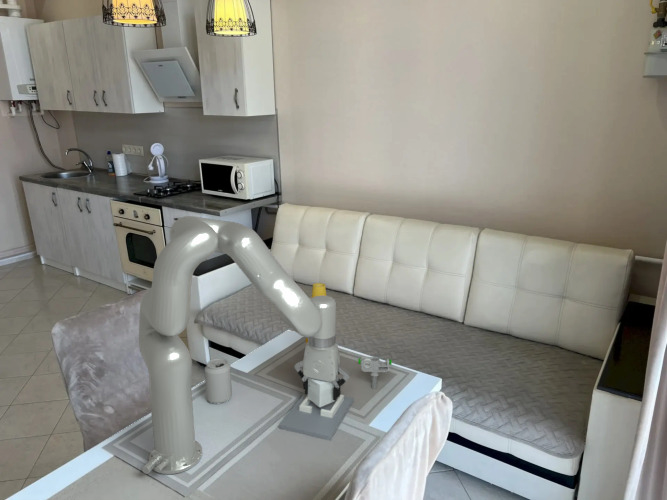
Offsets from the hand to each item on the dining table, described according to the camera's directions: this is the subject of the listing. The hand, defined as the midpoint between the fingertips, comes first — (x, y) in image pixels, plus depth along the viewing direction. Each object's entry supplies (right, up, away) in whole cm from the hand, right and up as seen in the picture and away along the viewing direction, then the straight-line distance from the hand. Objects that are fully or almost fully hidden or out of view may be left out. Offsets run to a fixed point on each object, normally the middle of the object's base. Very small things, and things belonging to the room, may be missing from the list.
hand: (321, 394), depth 141 cm
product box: (0, -2, +1) cm, 2 cm away
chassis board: (-1, -5, -2) cm, 5 cm away
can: (-31, -3, +6) cm, 32 cm away
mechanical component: (+16, -2, +13) cm, 21 cm away
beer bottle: (-2, +2, +28) cm, 28 cm away
